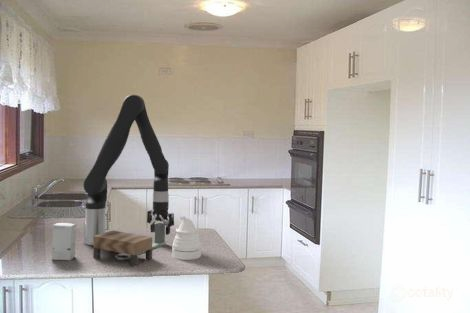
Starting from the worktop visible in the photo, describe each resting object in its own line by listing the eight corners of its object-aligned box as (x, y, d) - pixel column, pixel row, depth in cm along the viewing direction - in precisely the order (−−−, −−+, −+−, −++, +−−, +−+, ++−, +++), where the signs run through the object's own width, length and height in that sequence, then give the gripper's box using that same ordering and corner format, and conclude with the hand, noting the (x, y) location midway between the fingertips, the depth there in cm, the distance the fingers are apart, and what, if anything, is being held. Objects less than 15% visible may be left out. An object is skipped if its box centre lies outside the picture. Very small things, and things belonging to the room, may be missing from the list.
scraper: (158, 243, 227) (159, 222, 226) (165, 244, 225) (165, 223, 224) (131, 253, 209) (131, 231, 208) (138, 254, 207) (138, 232, 206)
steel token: (112, 259, 199) (112, 255, 199) (122, 256, 205) (122, 252, 205) (123, 261, 197) (123, 258, 197) (132, 258, 202) (132, 254, 202)
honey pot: (174, 260, 199) (175, 219, 198) (170, 252, 212) (170, 213, 210) (203, 258, 203) (204, 218, 202) (197, 250, 215) (198, 212, 214)
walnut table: (93, 257, 200) (93, 236, 199) (112, 251, 211) (112, 230, 210) (134, 266, 190) (134, 243, 190) (152, 258, 201) (152, 237, 200)
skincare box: (51, 260, 195) (51, 225, 194) (57, 255, 202) (56, 222, 200) (71, 260, 195) (71, 225, 194) (76, 256, 201) (76, 222, 200)
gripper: (143, 199, 223) (143, 232, 224) (168, 202, 216) (167, 236, 218) (153, 197, 230) (152, 229, 231) (177, 200, 223) (176, 233, 224)
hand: (160, 233), depth 224 cm, fingers open, 8 cm apart
